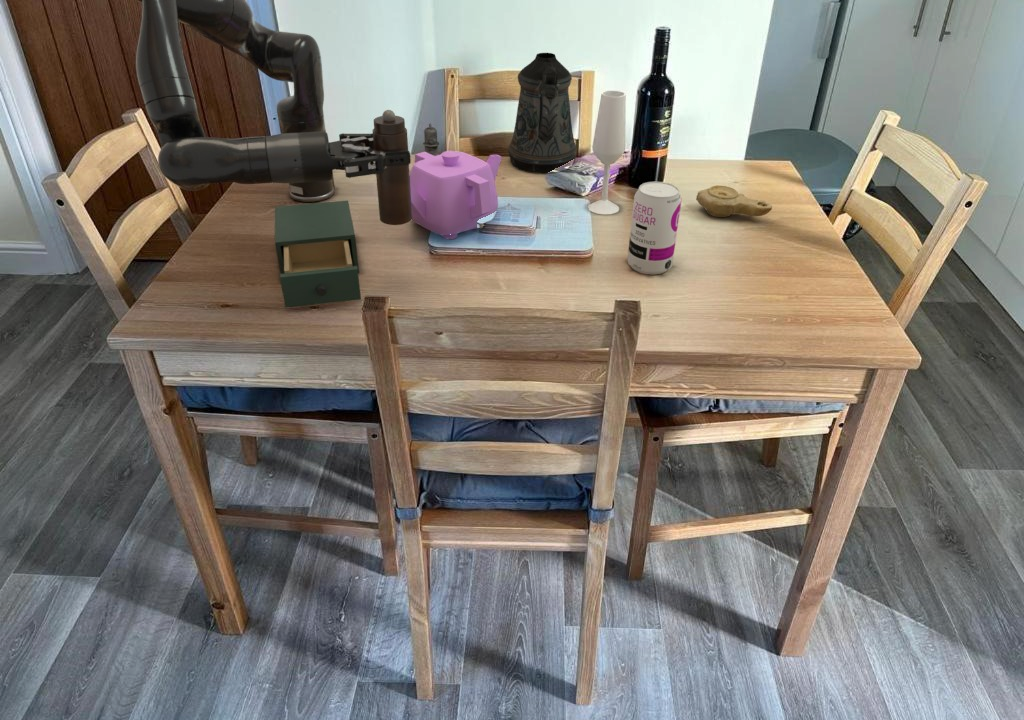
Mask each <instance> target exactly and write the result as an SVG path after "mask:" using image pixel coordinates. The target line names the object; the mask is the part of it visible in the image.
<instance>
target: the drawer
mask: <svg viewBox="0 0 1024 720" xmlns="http://www.w3.org/2000/svg"><path fill="white" fill-rule="evenodd" d="M284 272H285V273H284V274H281V273H280V274H279V281H280V286H281V293H282V297H283V303H284V308H285V309H287V308H289V309H290V308H296V307H306V306H307V307H308V306H314V305H323V304H324V305H325V304H331V303H340V302H350V301H358V300H359V301H360V300H362V296H361V286H360V278H359V273H358V269H357V266H352V260H351V254H350V249H349V243H348V239H347V240H337V241H327V242H316V243H306V244H296V245H285V246H284Z"/></svg>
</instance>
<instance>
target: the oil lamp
mask: <svg viewBox="0 0 1024 720" xmlns="http://www.w3.org/2000/svg"><path fill="white" fill-rule="evenodd" d="M695 198H696V199H695V200H696V201H697V203H698V204H699V205H700V207H702V208H704V209H705V210H706V213H707V214H708V215H710V216H713V217H717V218H724V217H729V216H731V215H743V216H748V217H762V216H765V215H768V214H769V213H770V212H771V211H772V209H773V206H772V205H771V204H770V203H769V202H766V201H765V200H762V199H752V198H751V197H750V198H749V197H748V196H745V193H739V192H738V191H737V189H735V188H733V187H730V186H727V185H720V184H719V185H712V186H711V187H708V188H706V189H705V188H704V189H701V190H699V191H697V195H696V197H695Z"/></svg>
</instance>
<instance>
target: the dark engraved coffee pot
mask: <svg viewBox="0 0 1024 720" xmlns="http://www.w3.org/2000/svg"><path fill="white" fill-rule="evenodd" d="M572 79H573V76H572V74H571V73H570V71H569V70H568V69H567V68H566V67H565V66H564V65H563V64H562V63H561V61H559V60H558V59H557V57H556V54H555V53H553V52H539V53H537V54H536V55H535V58H534V59H533V60H532V61H531V62H530V63H529V64H527V65H526V66H524V67H523V68H522V69H520V71H519V72H518V73H517V83H518V85H519V86H520V92H519V96H518V103H517V110H516V116H515V122H514V130H513V134H512V137H511V141H510V142H509V145H508V146H507V147H508V148H507V151H508V155H509V161H510V163H511V165H512V167H514V168H516V169H517V170H520V171H523V172H527V173H534V174H549V173H548V172H550V171H552V170H554V169H555V168H558V167H560V166H562V165H564V164H566V163H568V162H569V161H571V160H573V159H575V160H576V156H577V152H578V148H577V144H576V142H575V138H574V137H575V136H574V132H573V125H572V124H573V123H572V117H571V106H570V95H569V94H570V93H569V87H570V85H571V83H572V81H573V80H572Z"/></svg>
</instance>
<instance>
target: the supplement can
mask: <svg viewBox="0 0 1024 720" xmlns="http://www.w3.org/2000/svg"><path fill="white" fill-rule="evenodd" d="M682 199H683V198H682V196H681V194H680V189H679V188H678V186H676V185H674V184H671V183H669V182H664V181H647V182H643V183H642V184H640V185H639V186H638V189H637V190H636V192H635V194H634V197H633V205H632V215H631V223H630V233H629V242H628V251H627V264H628V265H629V266H630V268H631V269H633V270H634V271H635V272H637V273H640V274H644V275H653V276H654V275H661V274H663V273H666V272H667V271H668V270H669V269H671V268H672V266H673V261H674V256H675V248H676V241H677V234H678V228H679V222H680V221H679V220H680V215H681V214H680V213H681V209H682V208H681V207H682Z"/></svg>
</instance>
